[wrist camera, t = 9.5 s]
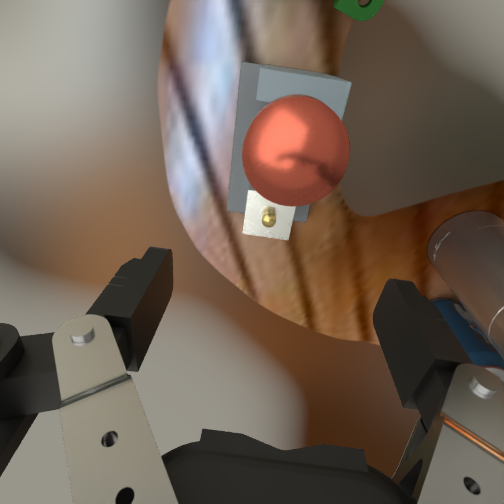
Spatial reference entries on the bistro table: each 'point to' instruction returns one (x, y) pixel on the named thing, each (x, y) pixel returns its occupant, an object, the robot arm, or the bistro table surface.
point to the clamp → (358, 8)
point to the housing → (267, 217)
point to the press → (263, 92)
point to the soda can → (471, 336)
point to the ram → (295, 150)
